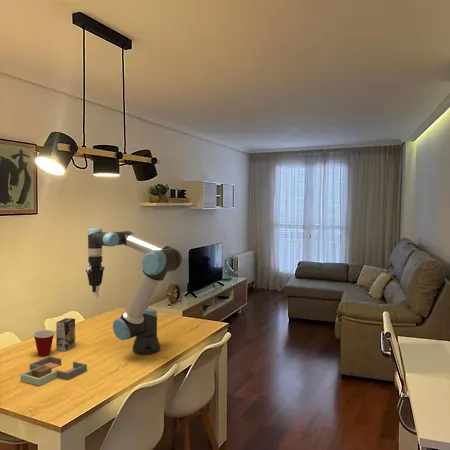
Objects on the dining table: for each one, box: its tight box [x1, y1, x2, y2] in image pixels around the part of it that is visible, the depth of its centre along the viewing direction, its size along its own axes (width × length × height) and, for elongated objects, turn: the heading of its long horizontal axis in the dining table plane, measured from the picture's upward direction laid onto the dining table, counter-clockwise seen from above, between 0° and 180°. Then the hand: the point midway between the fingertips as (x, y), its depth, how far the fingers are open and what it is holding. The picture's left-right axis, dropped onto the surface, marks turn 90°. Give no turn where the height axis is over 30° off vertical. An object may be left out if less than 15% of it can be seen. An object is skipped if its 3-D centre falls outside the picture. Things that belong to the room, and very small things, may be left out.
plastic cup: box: [32, 329, 56, 357], centre depth 214 cm, size 11×11×12 cm
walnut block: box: [32, 365, 53, 378], centre depth 185 cm, size 6×6×4 cm
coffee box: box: [55, 317, 76, 352], centre depth 223 cm, size 9×6×16 cm
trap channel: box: [20, 355, 88, 387], centre depth 188 cm, size 25×22×3 cm
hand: (95, 297), depth 223 cm, fingers closed
